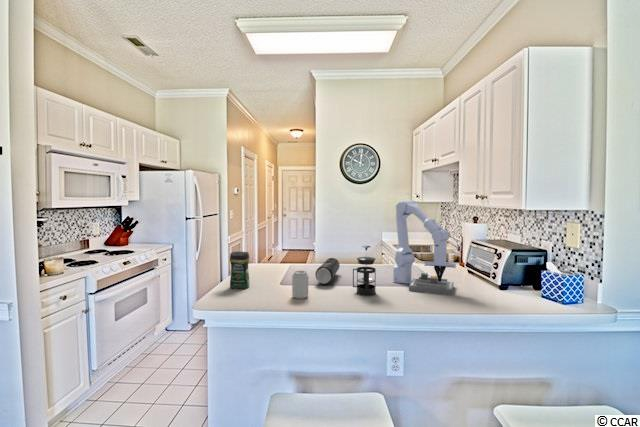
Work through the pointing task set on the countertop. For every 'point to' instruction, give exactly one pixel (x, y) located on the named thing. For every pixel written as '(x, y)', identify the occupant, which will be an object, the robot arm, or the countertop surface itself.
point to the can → (300, 284)
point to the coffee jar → (239, 270)
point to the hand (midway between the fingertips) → (439, 281)
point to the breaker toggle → (433, 280)
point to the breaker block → (431, 285)
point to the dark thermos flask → (327, 271)
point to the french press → (365, 276)
